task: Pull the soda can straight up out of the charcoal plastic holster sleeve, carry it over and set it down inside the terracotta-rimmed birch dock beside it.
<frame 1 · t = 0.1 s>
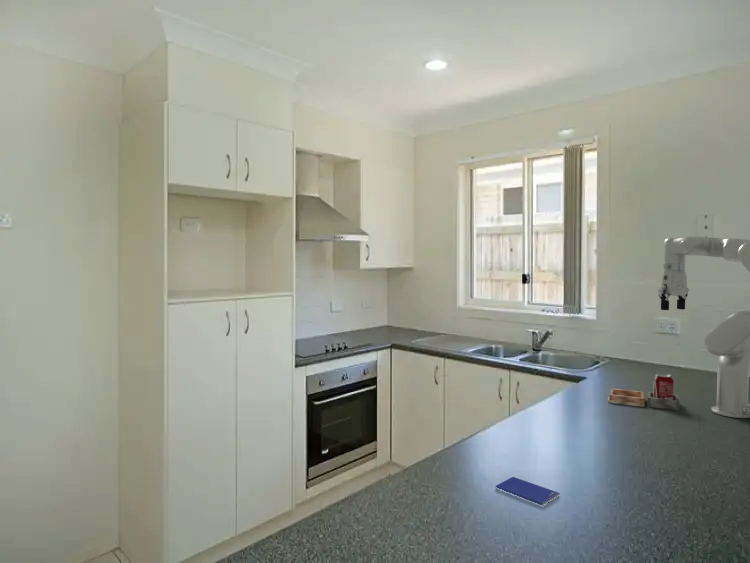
hand: (672, 309, 209), 37 cm above the countertop, tool pointing down, fingers open, 9 cm apart
soda can: (662, 405, 199), resting in dock
hard drive: (527, 495, 122), on the countertop
dock: (644, 402, 202), on the countertop
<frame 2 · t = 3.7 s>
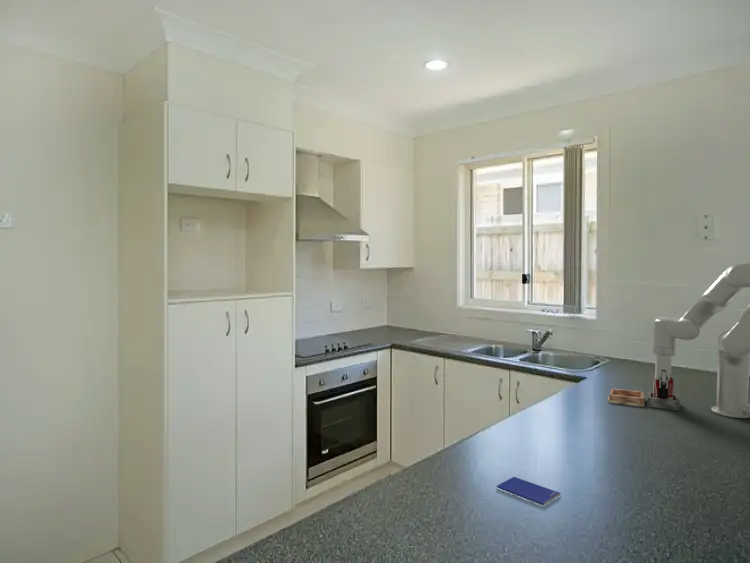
hand: (662, 395, 199), 4 cm above the countertop, tool pointing down, fingers closed on soda can, 6 cm apart
soda can: (662, 405, 199), resting in dock, touching gripper
everything else where it was.
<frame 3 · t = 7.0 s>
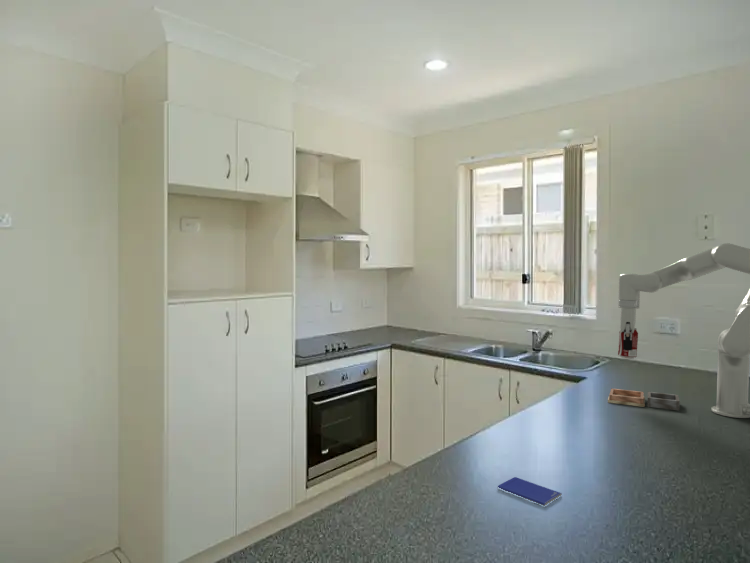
hand: (627, 348, 204), 21 cm above the countertop, tool pointing down, fingers closed on soda can, 6 cm apart
soda can: (627, 358, 205), point 17 cm above the countertop, touching gripper
everything else where it was.
when the fingers open (6 cm above the countertop, at t = 10.3 s): soda can drops 1 cm, resting on dock.
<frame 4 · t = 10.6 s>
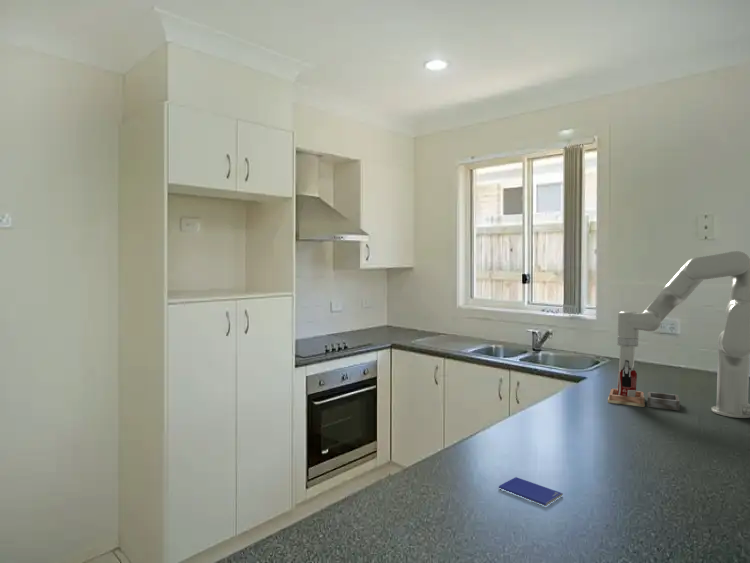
hand: (626, 384, 205), 7 cm above the countertop, tool pointing down, fingers open, 9 cm apart
soda can: (626, 398, 205), point 1 cm above the countertop, touching dock
everything else where it was.
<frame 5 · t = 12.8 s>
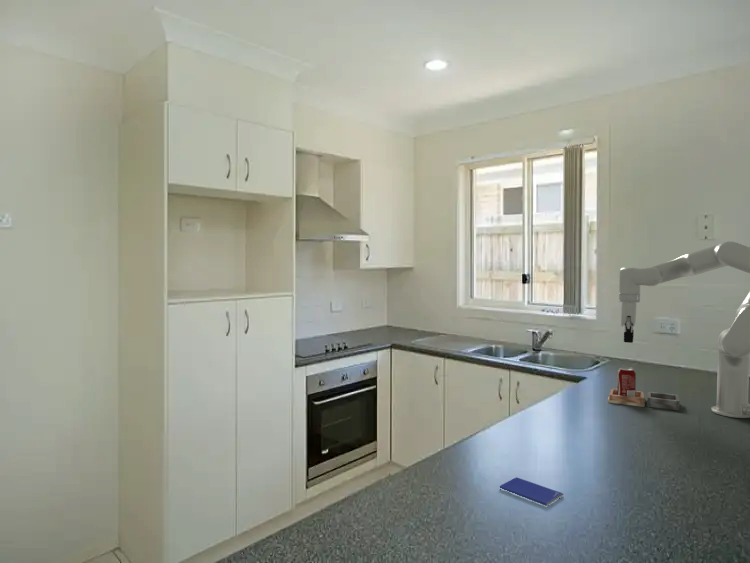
hand: (628, 340, 205), 24 cm above the countertop, tool pointing down, fingers open, 9 cm apart
nothing on the countertop moved.
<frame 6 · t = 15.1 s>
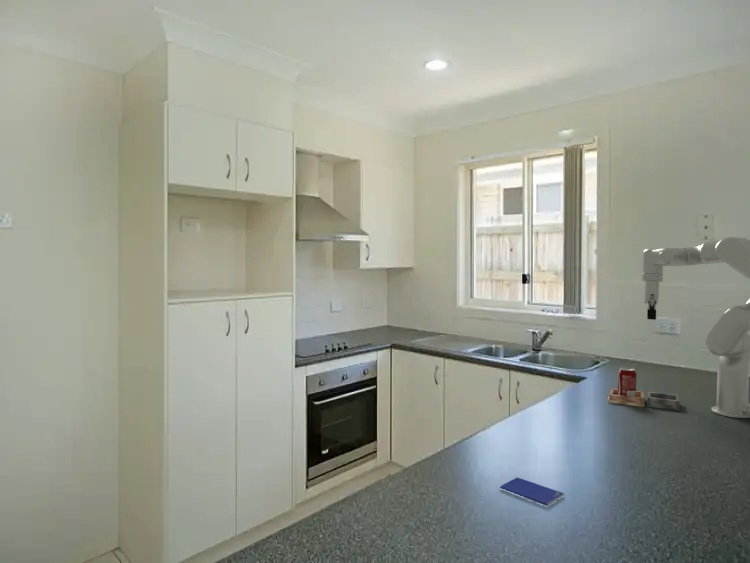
hand: (651, 318, 216), 32 cm above the countertop, tool pointing down, fingers open, 9 cm apart
at the end: soda can 0.2 cm from the target spot, point 0.8 cm above the countertop; soda can tilted 1°; the gripper is holding nothing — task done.
